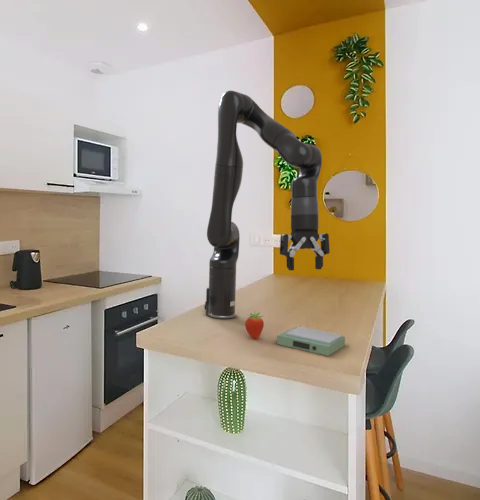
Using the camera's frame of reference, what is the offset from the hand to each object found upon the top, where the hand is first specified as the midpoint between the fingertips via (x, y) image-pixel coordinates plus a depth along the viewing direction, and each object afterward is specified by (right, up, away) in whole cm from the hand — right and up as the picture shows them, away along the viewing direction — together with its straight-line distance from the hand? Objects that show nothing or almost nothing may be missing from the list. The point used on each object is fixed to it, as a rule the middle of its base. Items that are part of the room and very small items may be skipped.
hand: (304, 269), depth 121 cm
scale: (-1, -20, -6) cm, 21 cm away
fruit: (-15, -20, -1) cm, 25 cm away
